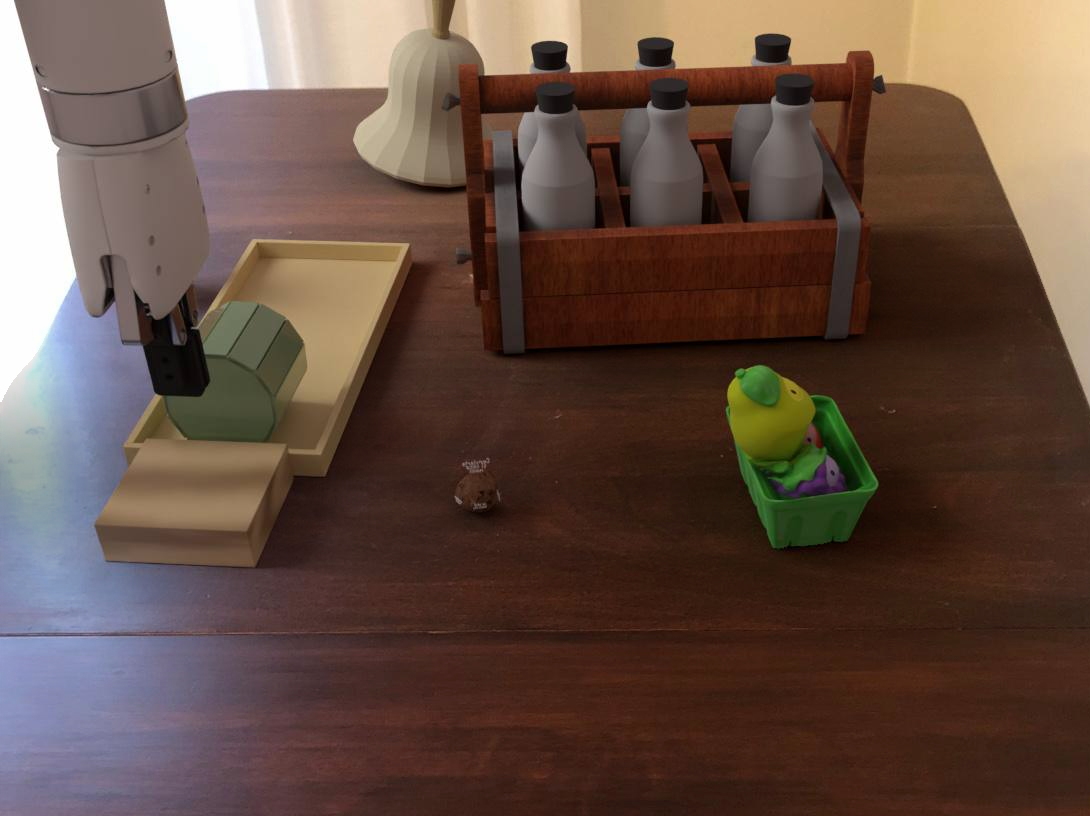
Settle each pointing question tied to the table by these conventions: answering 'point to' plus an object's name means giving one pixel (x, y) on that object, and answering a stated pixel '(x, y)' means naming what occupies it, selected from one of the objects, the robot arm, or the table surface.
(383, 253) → the tray
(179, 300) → the robot arm
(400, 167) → the handbell
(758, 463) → the fruit basket
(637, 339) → the milk bottle holder
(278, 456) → the block
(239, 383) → the cup
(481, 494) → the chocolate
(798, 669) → the table surface
